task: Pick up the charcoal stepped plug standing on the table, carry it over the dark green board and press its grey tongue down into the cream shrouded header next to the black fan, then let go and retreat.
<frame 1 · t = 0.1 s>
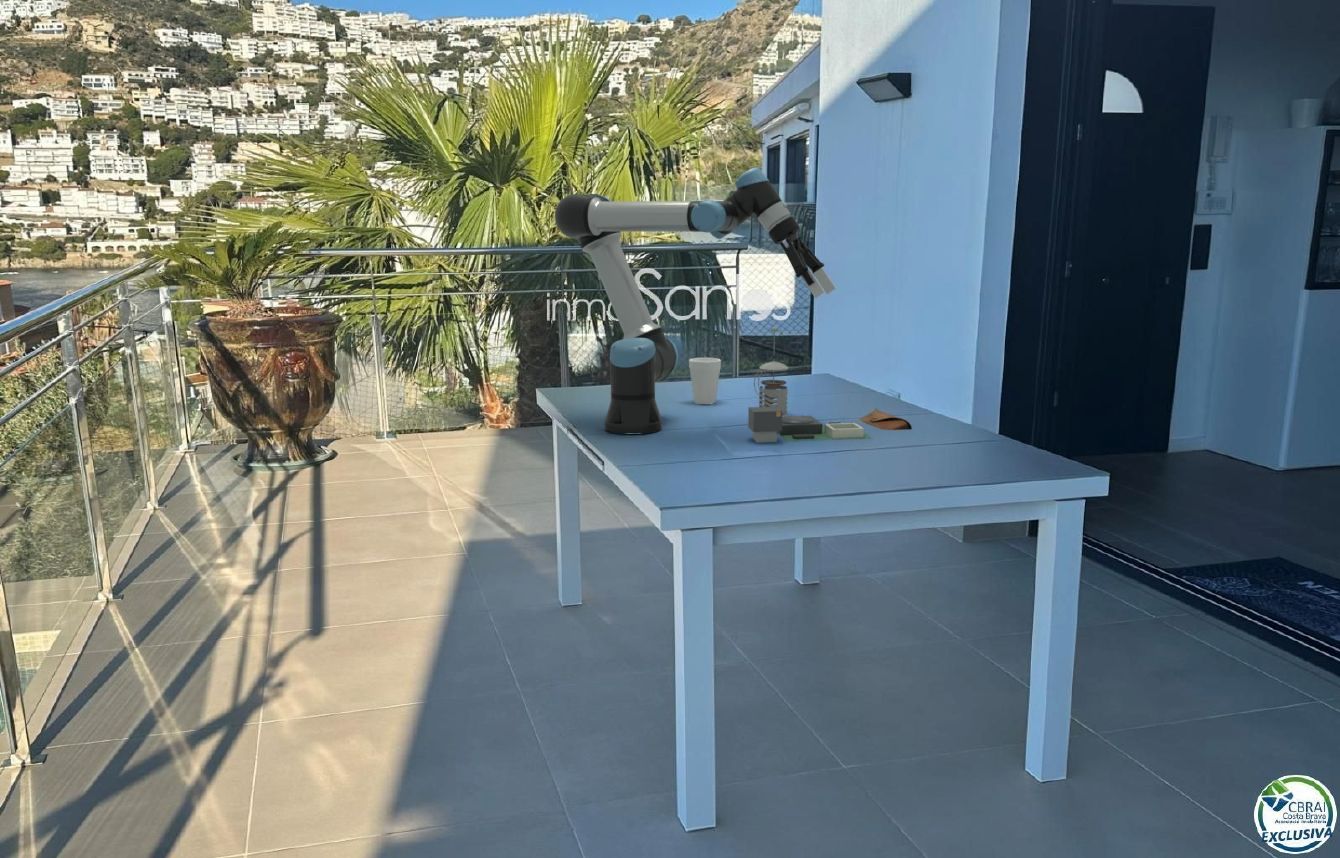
hand: (826, 293, 260), 36 cm above the table, tool tilted 35°, fingers open, 13 cm apart
plug: (764, 445, 253), on the table
board: (819, 436, 262), on the table
foam cup: (704, 403, 308), on the table
header: (843, 434, 258), resting on board
sunglasses case: (880, 430, 272), on the table
french press: (770, 416, 289), on the table
fan: (795, 429, 264), resting on board
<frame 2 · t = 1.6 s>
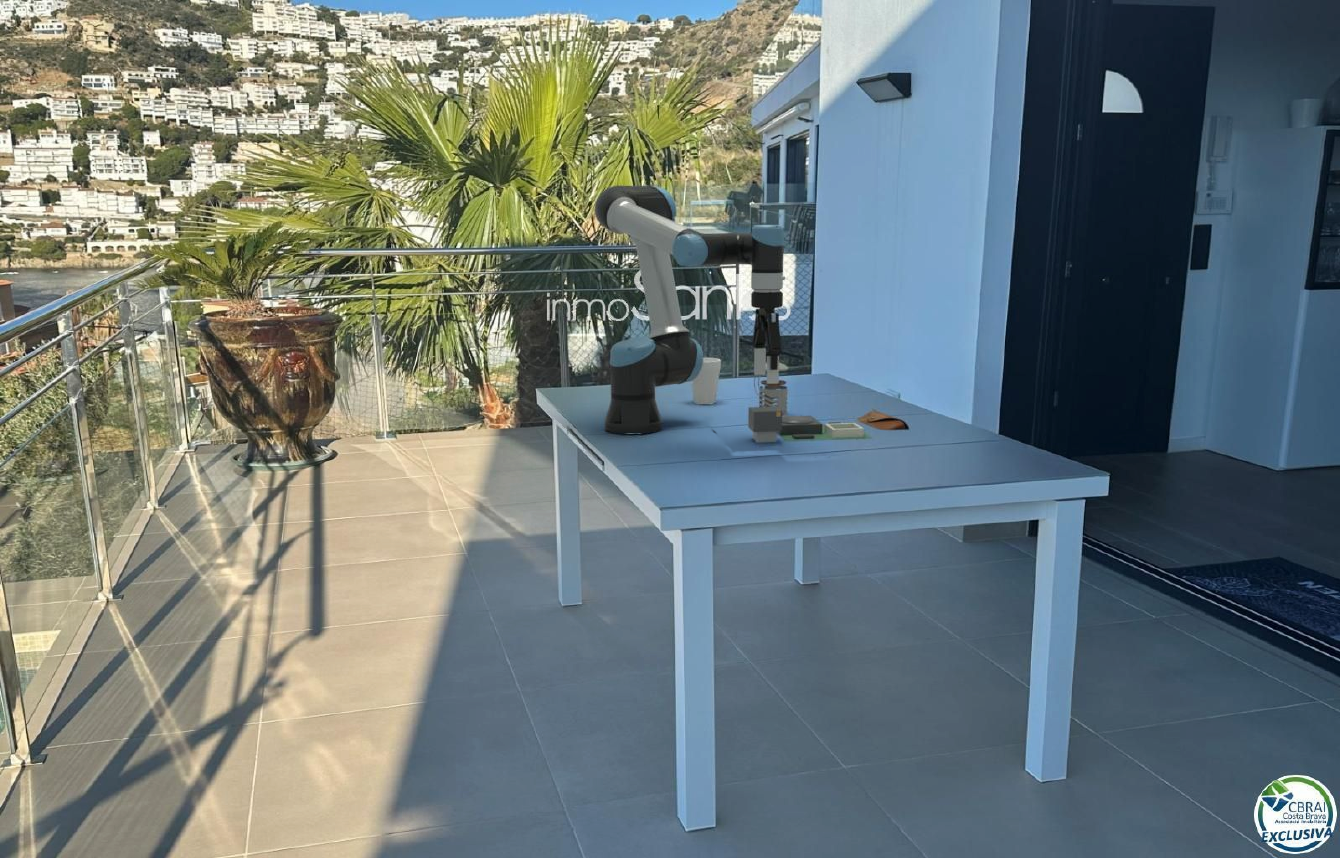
hand: (766, 378, 249), 16 cm above the table, tool pointing down, fingers open, 13 cm apart
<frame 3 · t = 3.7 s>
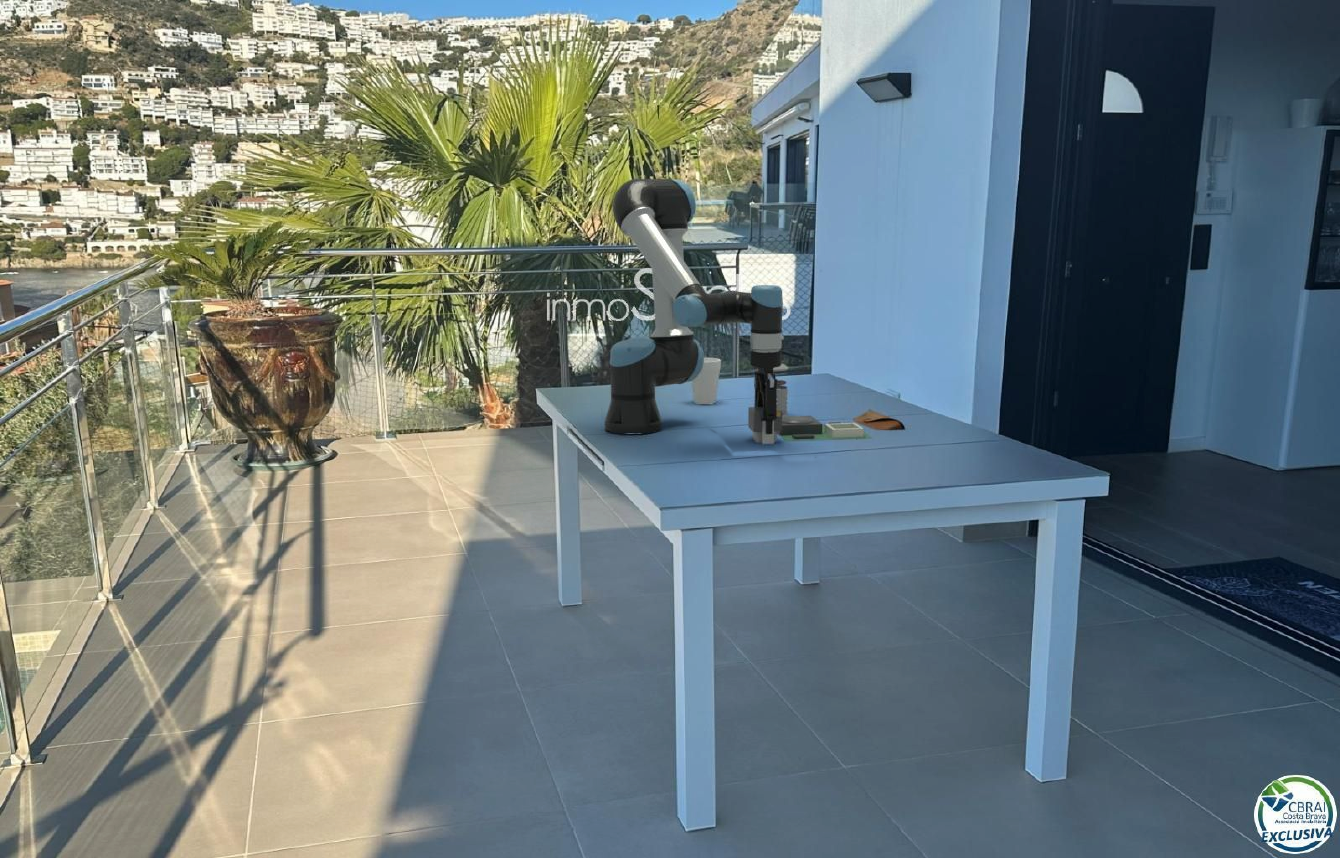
hand: (764, 443, 253), 0 cm above the table, tool pointing down, fingers closed on plug, 6 cm apart
plug: (764, 445, 253), on the table, touching gripper
sunglasses case: (874, 430, 272), on the table
everything else where it was.
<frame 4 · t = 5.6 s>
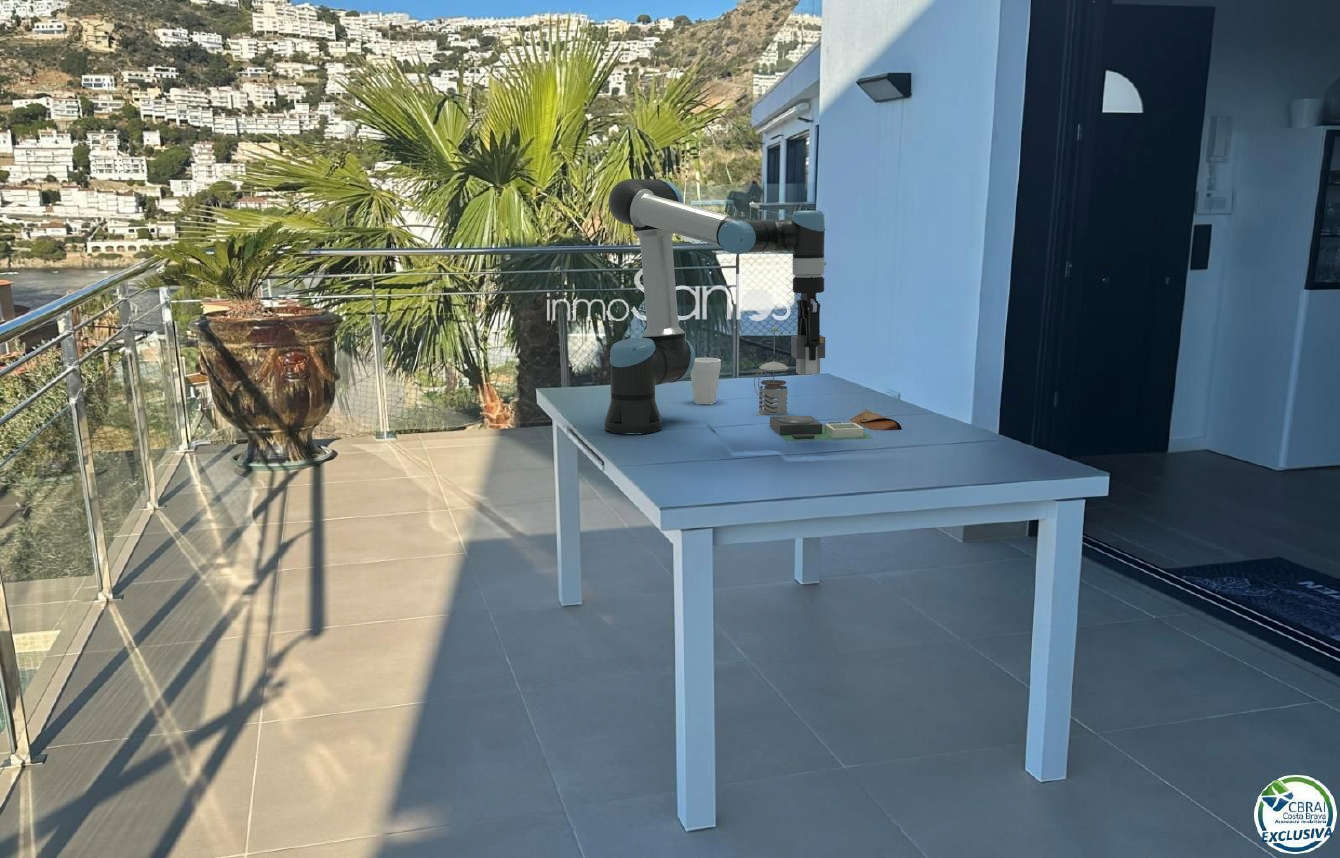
hand: (808, 371, 251), 18 cm above the table, tool pointing down, fingers closed on plug, 6 cm apart
plug: (807, 373, 251), point 17 cm above the table, touching gripper
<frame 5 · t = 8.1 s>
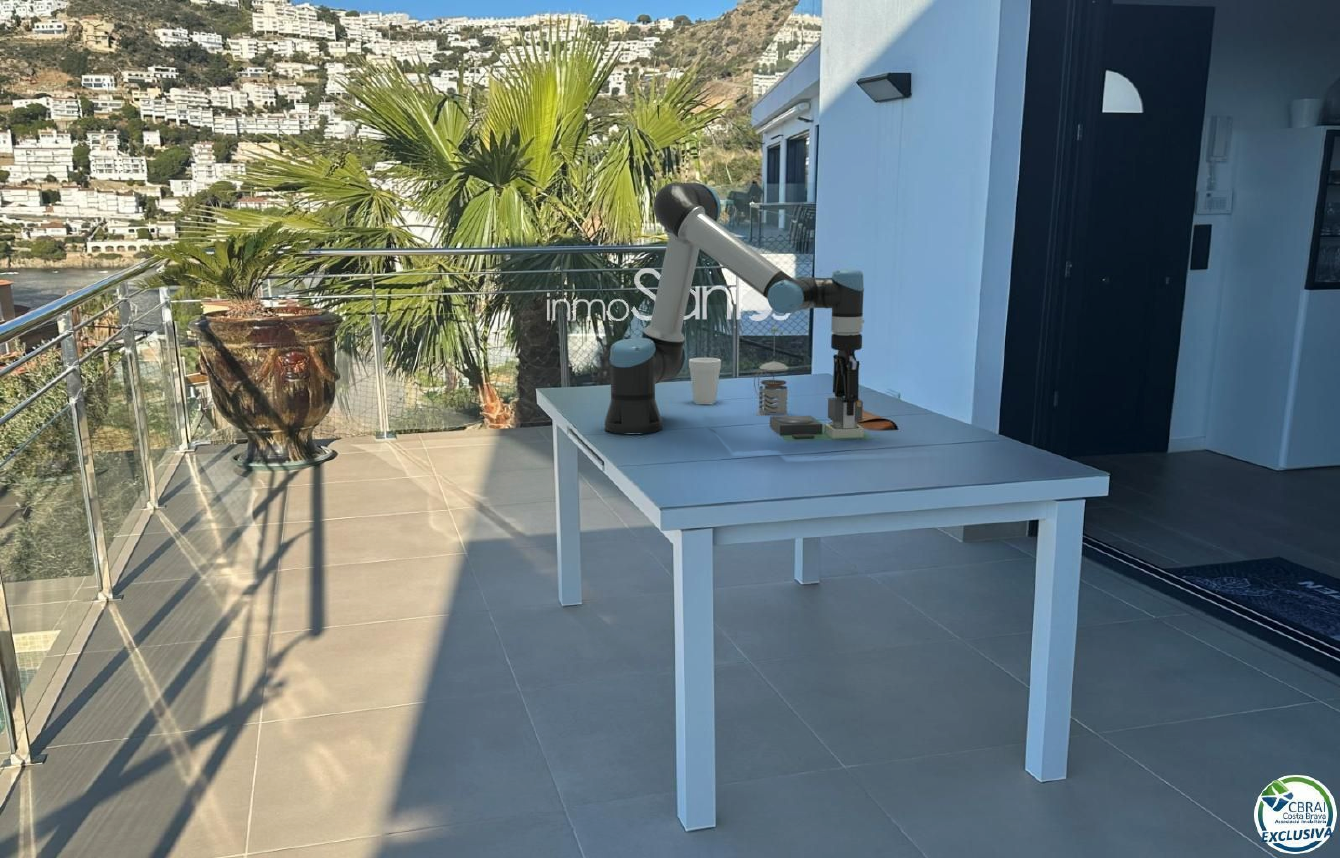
hand: (844, 425, 258), 4 cm above the table, tool pointing down, fingers closed on header, plug, 6 cm apart
plug: (844, 434, 258), point 1 cm above the table, touching board, gripper
sunglasses case: (867, 431, 271), on the table
everything else where it was.
when the fingers open (4 cm above the table, at t = 8.3 s): plug stays where it is, resting on board.
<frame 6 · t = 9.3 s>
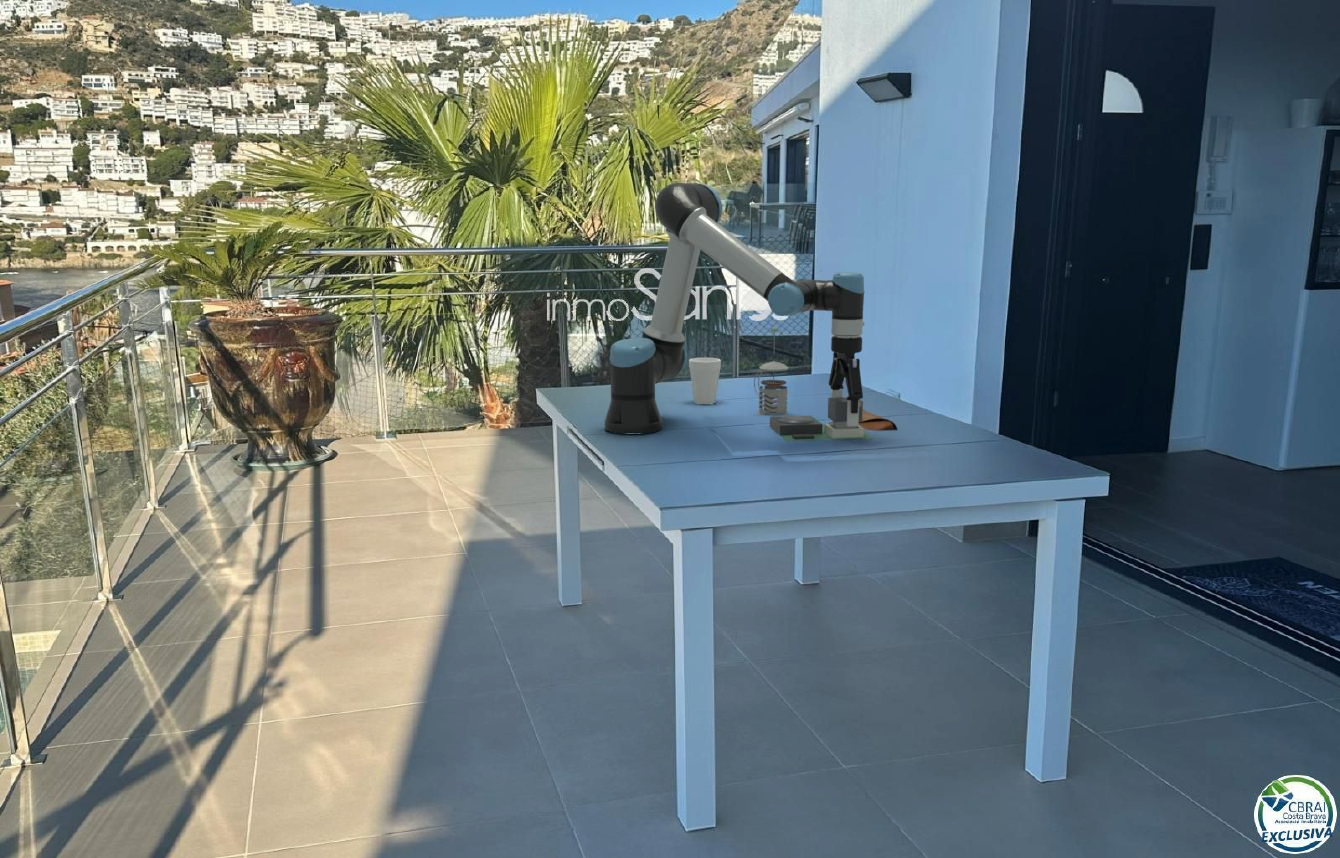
hand: (844, 420, 257), 5 cm above the table, tool pointing down, fingers open, 13 cm apart
plug: (844, 434, 258), point 1 cm above the table, touching board
everything else where it was.
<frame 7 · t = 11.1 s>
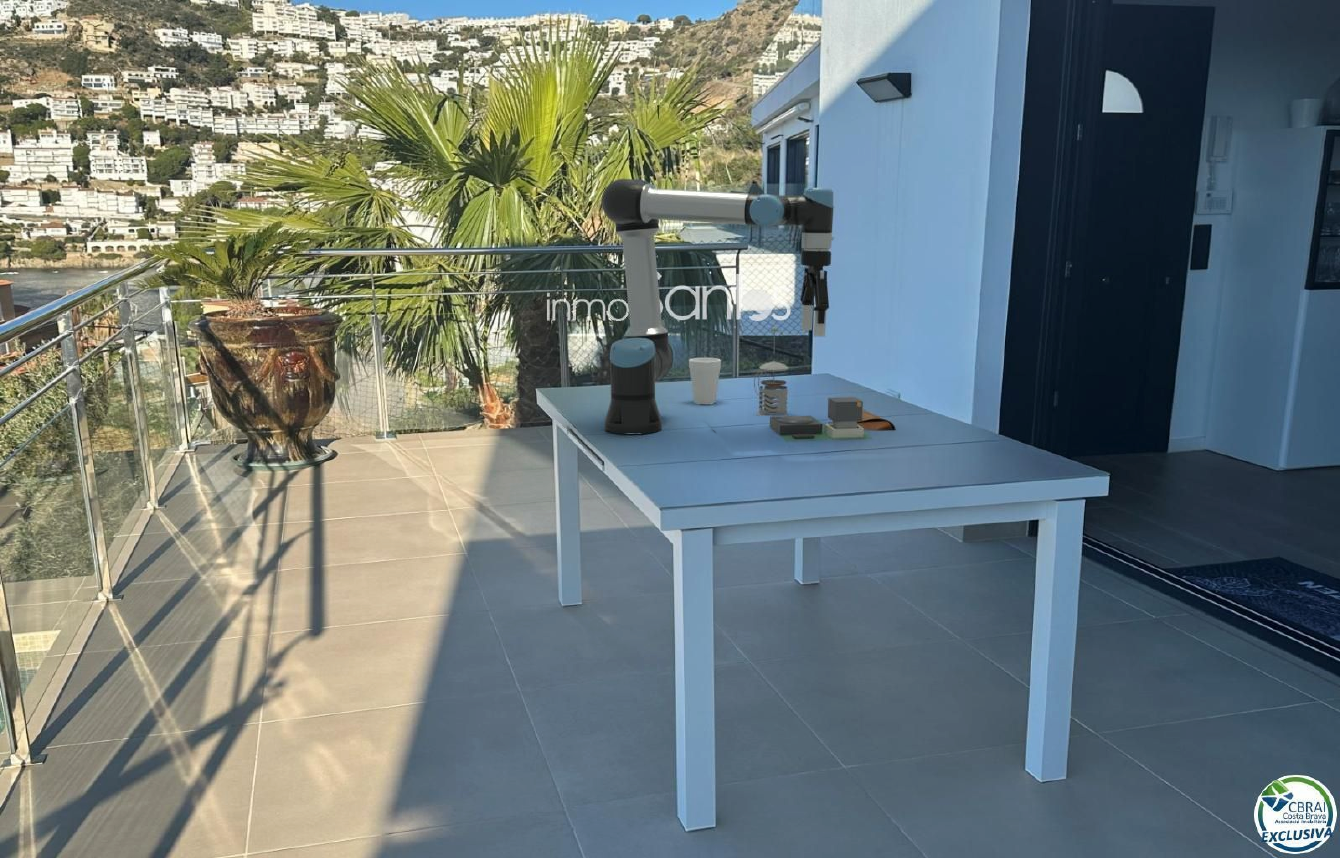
hand: (812, 333, 266), 25 cm above the table, tool pointing down, fingers open, 13 cm apart
nothing on the table moved.
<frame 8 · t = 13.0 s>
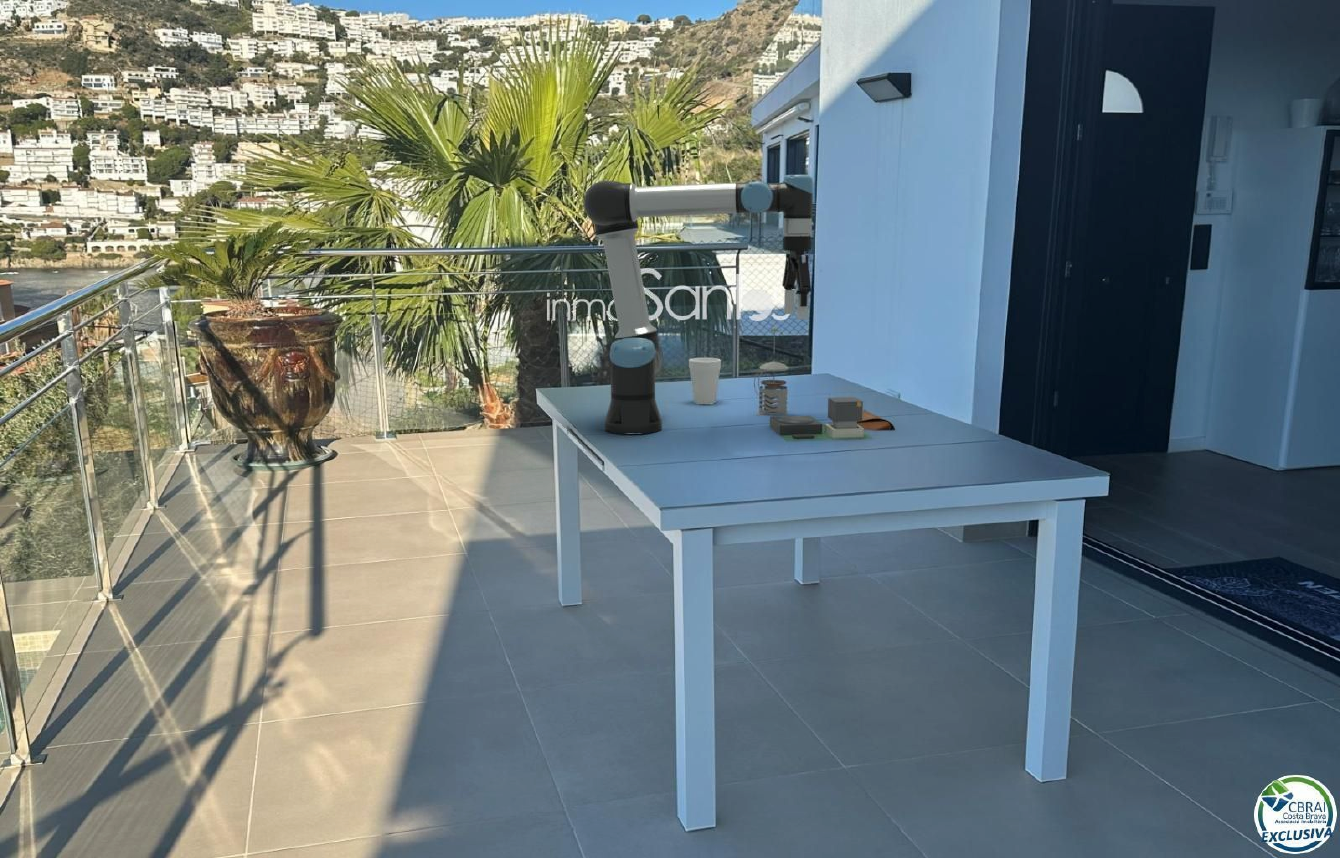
hand: (795, 316, 274), 29 cm above the table, tool pointing down, fingers open, 13 cm apart
nothing on the table moved.
at the end: plug 0.1 cm off-centre on the header, point 0.0 cm above the header's base; plug tilted 0°; the gripper is holding nothing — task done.
